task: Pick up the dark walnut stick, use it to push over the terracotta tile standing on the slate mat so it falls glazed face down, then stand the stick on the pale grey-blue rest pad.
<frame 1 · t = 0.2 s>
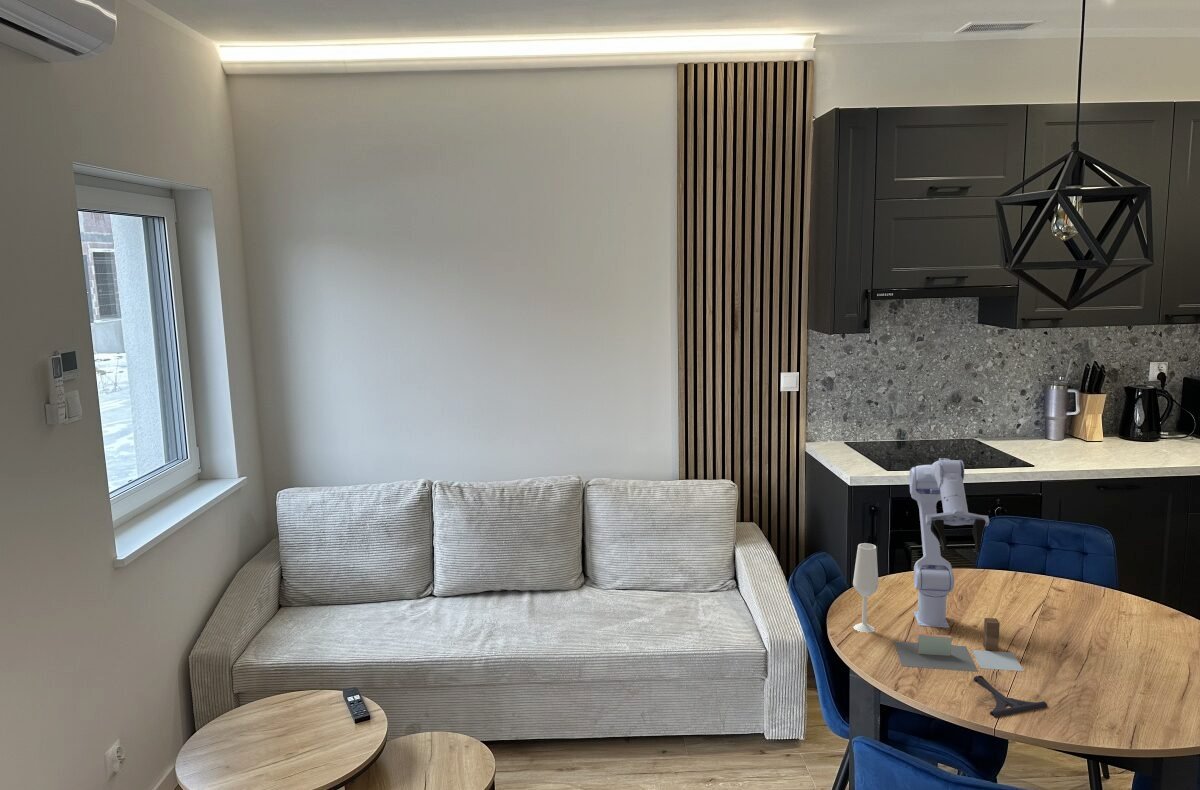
hand: (961, 550, 209), 31 cm above the table, tool tilted 45°, fingers open, 7 cm apart
walnut stick: (990, 649, 224), on the table
rest pad: (997, 661, 217), on the table
slate mat: (934, 657, 220), on the table
tile: (933, 654, 221), resting on slate mat
champagne flute: (863, 630, 237), on the table
bracket: (998, 699, 201), on the table
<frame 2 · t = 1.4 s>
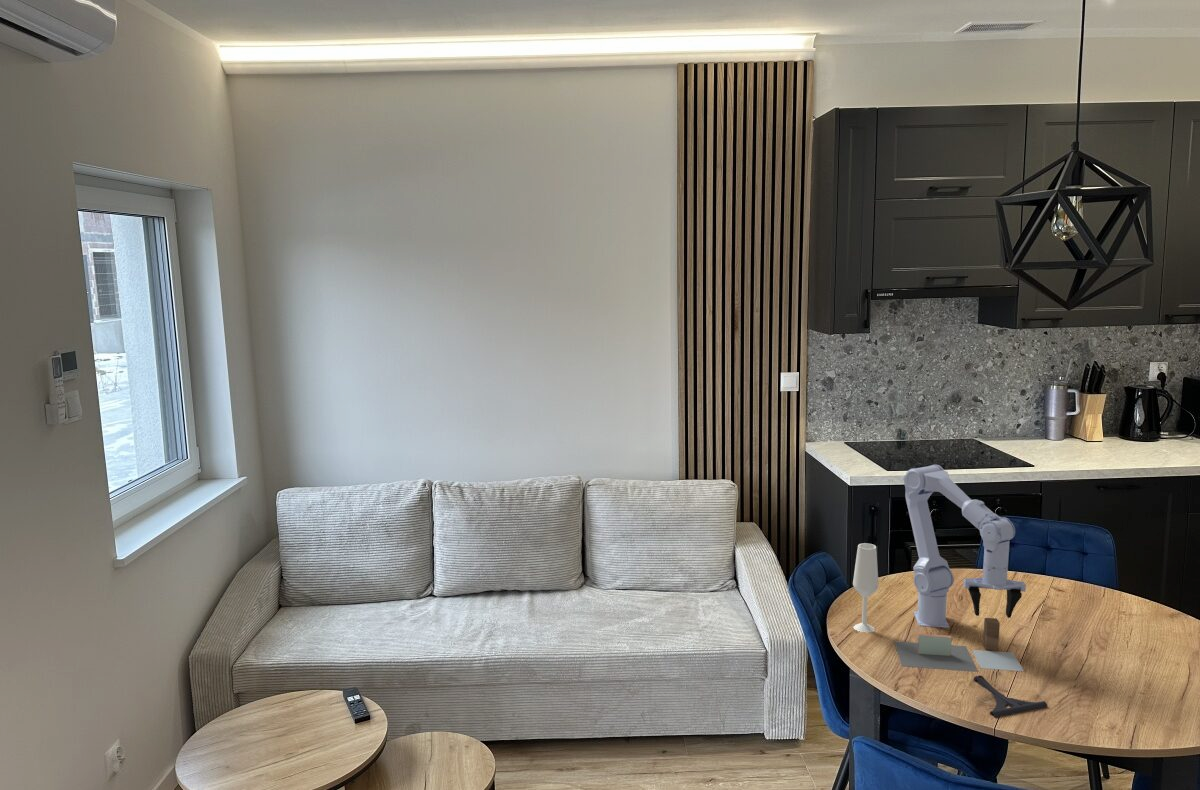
hand: (992, 615, 223), 9 cm above the table, tool pointing down, fingers open, 7 cm apart
nothing on the table moved.
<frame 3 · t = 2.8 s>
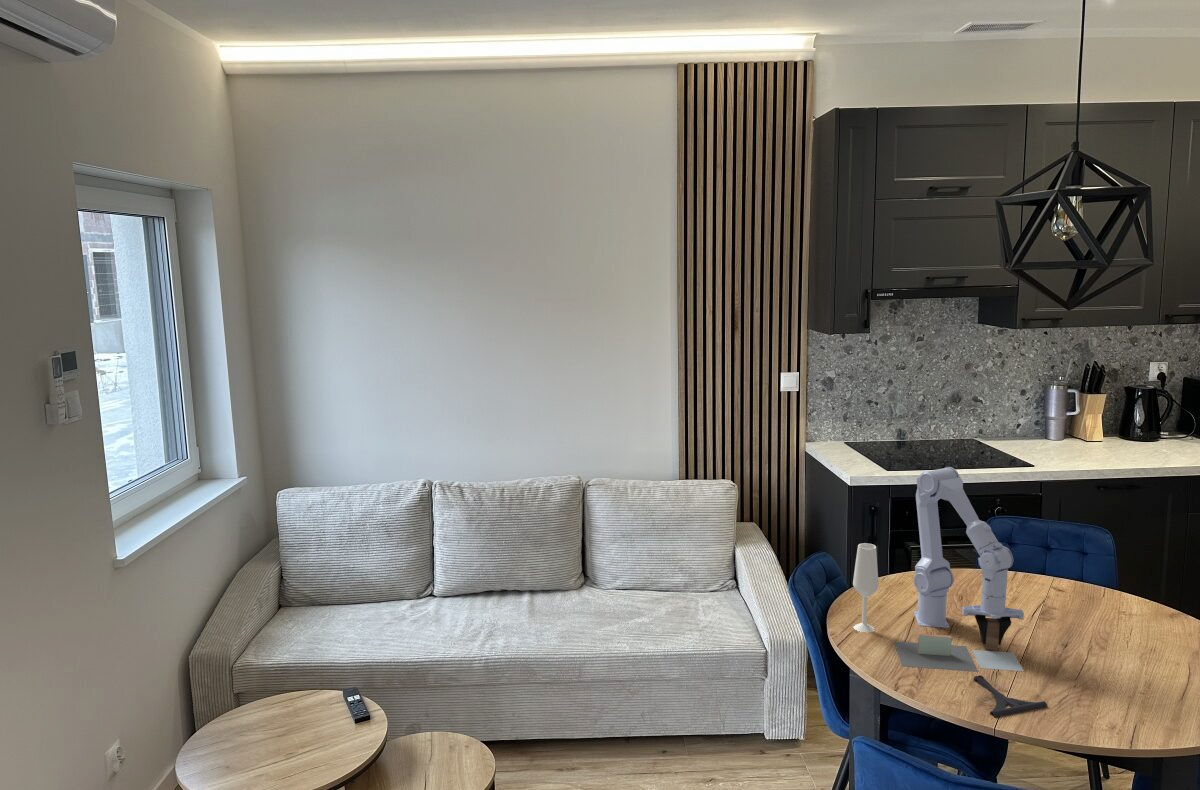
hand: (990, 642, 224), 2 cm above the table, tool pointing down, fingers closed on walnut stick, 3 cm apart
walnut stick: (990, 649, 224), on the table, touching gripper
everything else where it was.
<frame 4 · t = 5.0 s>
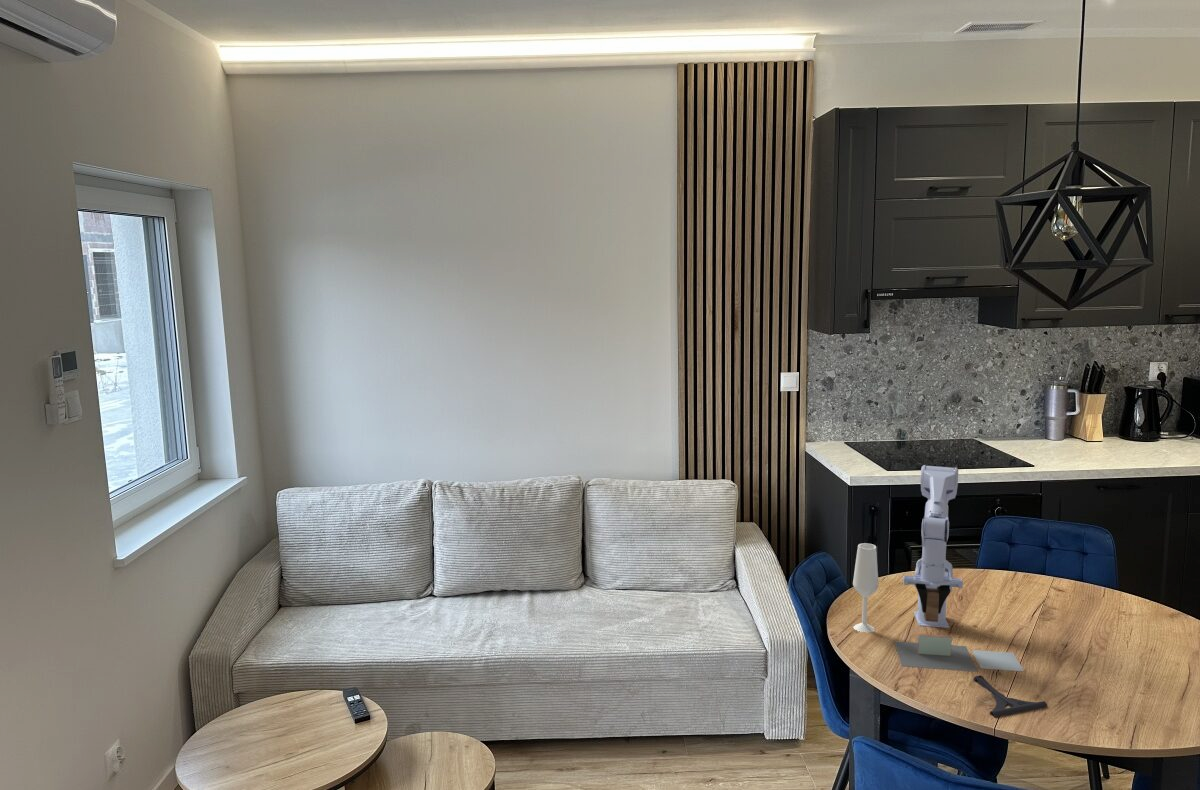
hand: (930, 611, 226), 9 cm above the table, tool pointing down, fingers closed on walnut stick, 3 cm apart
walnut stick: (930, 619, 226), point 7 cm above the table, touching gripper
everything else where it was.
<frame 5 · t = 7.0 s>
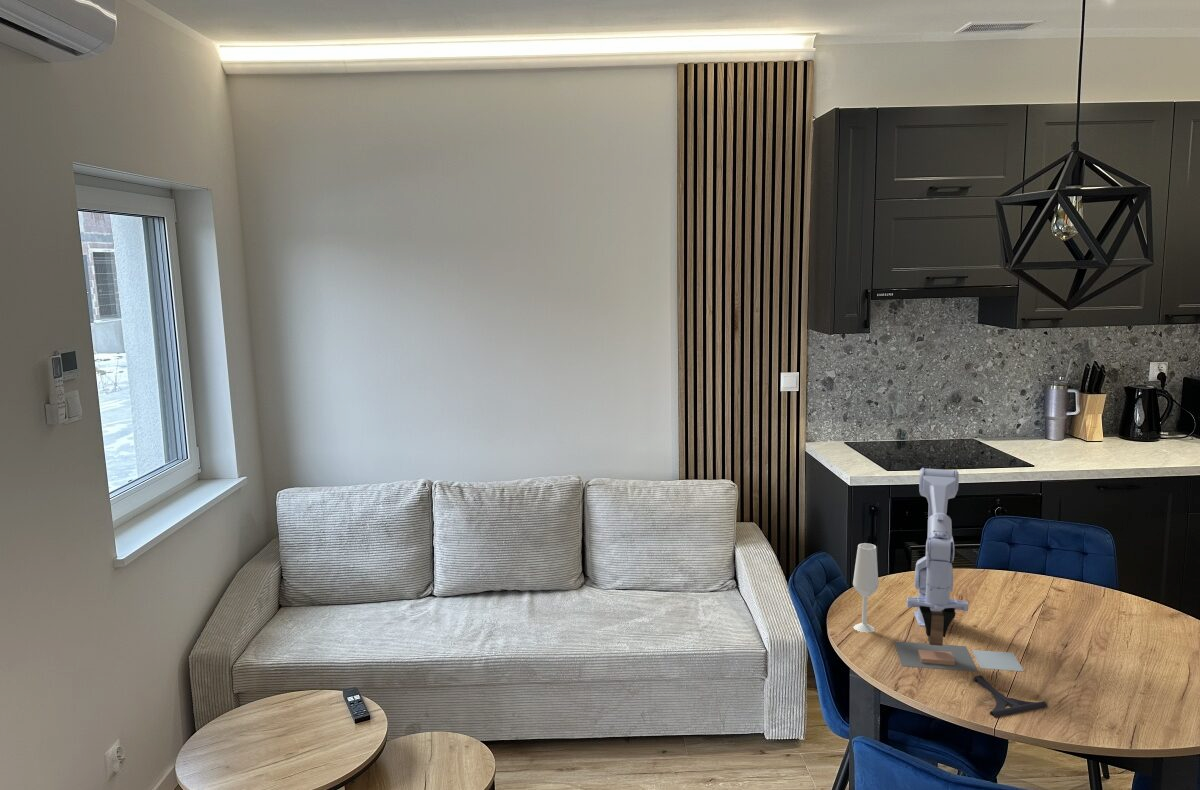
hand: (935, 634, 220), 6 cm above the table, tool pointing down, fingers closed on walnut stick, 3 cm apart
walnut stick: (935, 642, 220), point 4 cm above the table, touching gripper
tile: (934, 652, 221), point 1 cm above the table, tilted 90°, touching slate mat
everything else where it was.
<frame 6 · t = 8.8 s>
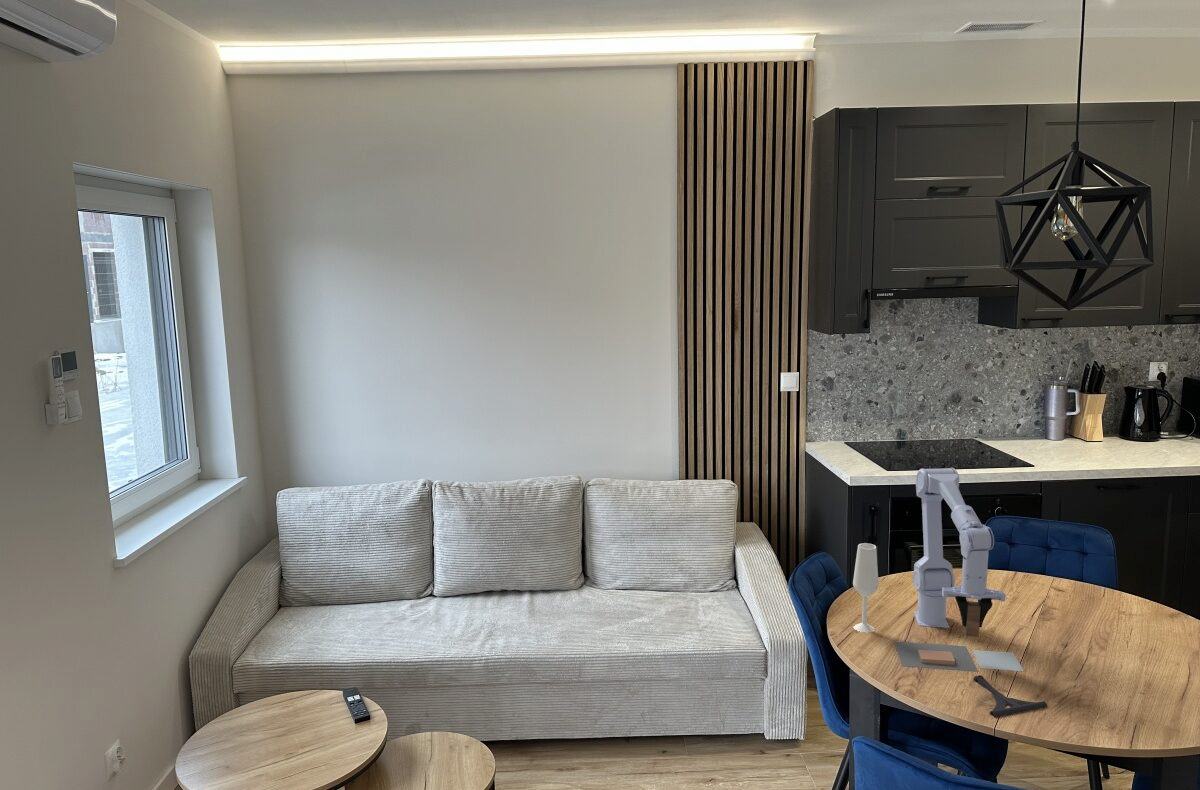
hand: (971, 625, 217), 9 cm above the table, tool pointing down, fingers closed on walnut stick, 3 cm apart
walnut stick: (971, 633, 217), point 7 cm above the table, touching gripper
everything else where it was.
when the fingers open (3 cm above the table, at t = 10.7 s): walnut stick stays where it is, resting on rest pad.
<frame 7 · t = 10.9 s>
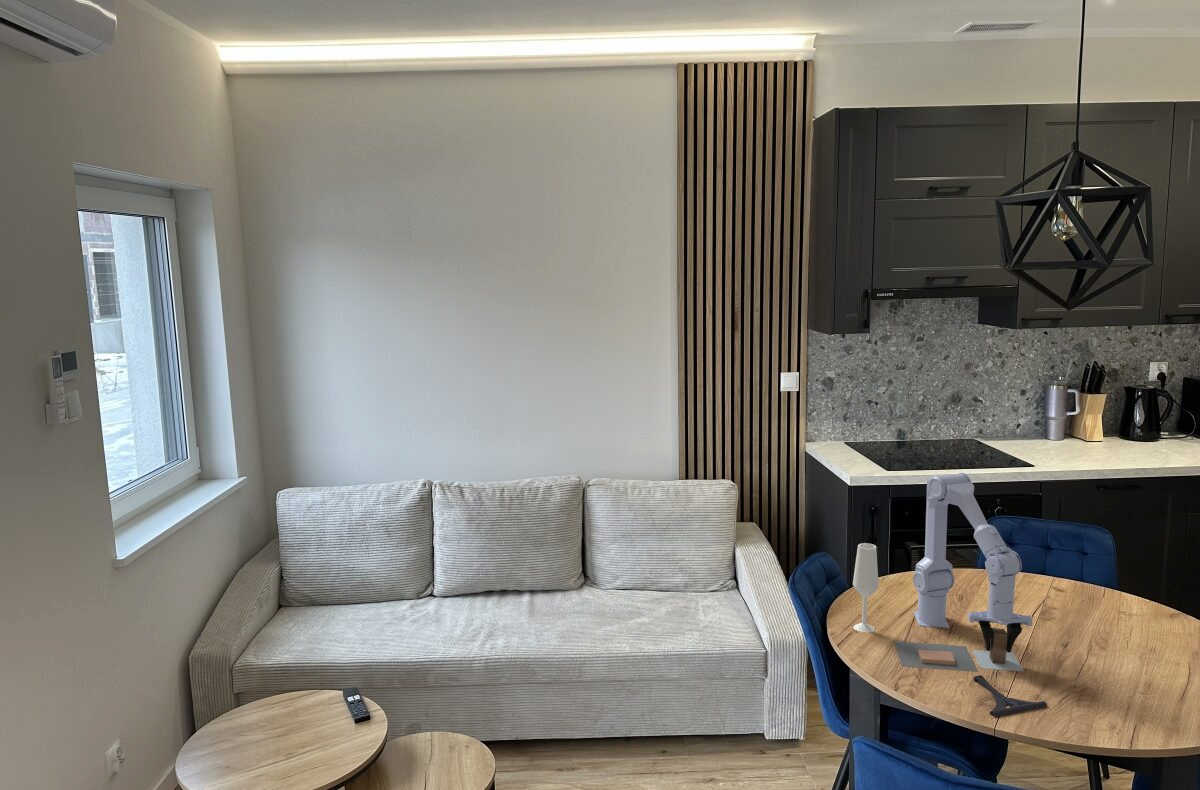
hand: (997, 649, 217), 3 cm above the table, tool pointing down, fingers open, 4 cm apart
walnut stick: (997, 660, 217), resting on rest pad
everything else where it was.
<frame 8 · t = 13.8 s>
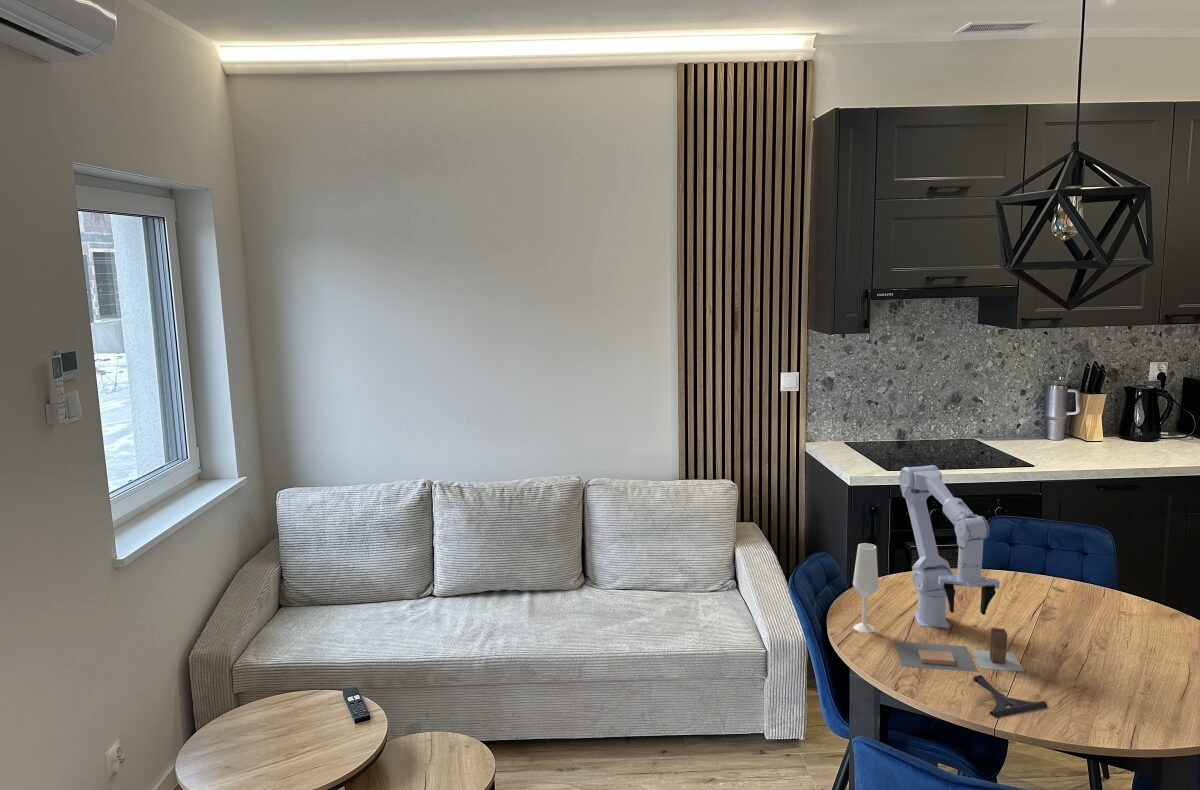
hand: (967, 612, 225), 9 cm above the table, tool pointing down, fingers open, 7 cm apart
nothing on the table moved.
at the end: tile tilted 90°; tile inside the target area on the slate mat (1.4 cm from its centre), point 1.0 cm above the slate mat's base; walnut stick inside the target area on the rest pad (0.3 cm from its centre), point 0.4 cm above the rest pad's base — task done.
